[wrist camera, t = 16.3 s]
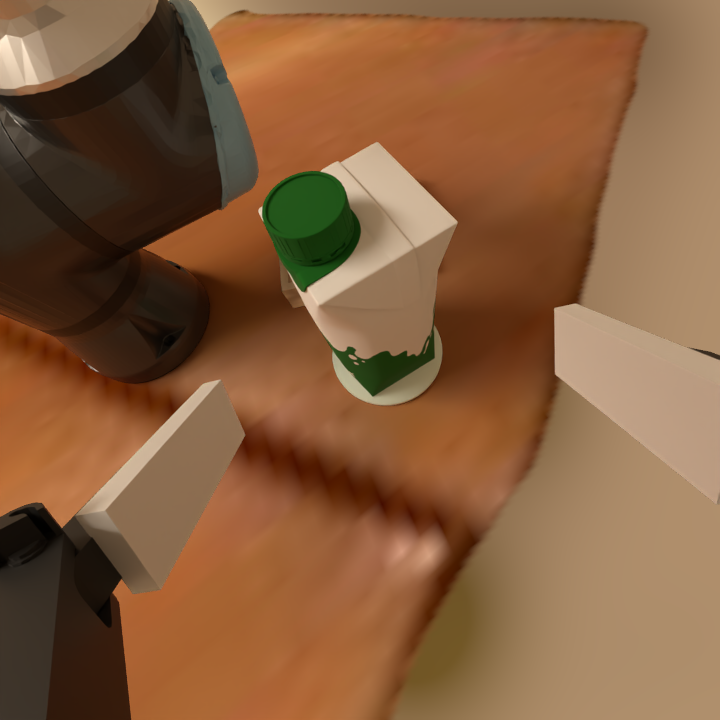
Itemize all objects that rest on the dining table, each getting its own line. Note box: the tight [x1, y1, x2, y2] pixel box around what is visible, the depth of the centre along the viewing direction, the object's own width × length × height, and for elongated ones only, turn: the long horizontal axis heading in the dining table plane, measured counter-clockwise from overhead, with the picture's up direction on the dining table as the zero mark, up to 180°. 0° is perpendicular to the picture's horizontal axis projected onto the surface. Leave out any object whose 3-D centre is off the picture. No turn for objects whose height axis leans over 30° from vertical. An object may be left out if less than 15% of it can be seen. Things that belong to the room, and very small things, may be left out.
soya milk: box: [259, 142, 458, 397], centre depth 24 cm, size 9×9×20 cm
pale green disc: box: [332, 325, 442, 406], centre depth 34 cm, size 11×11×1 cm
